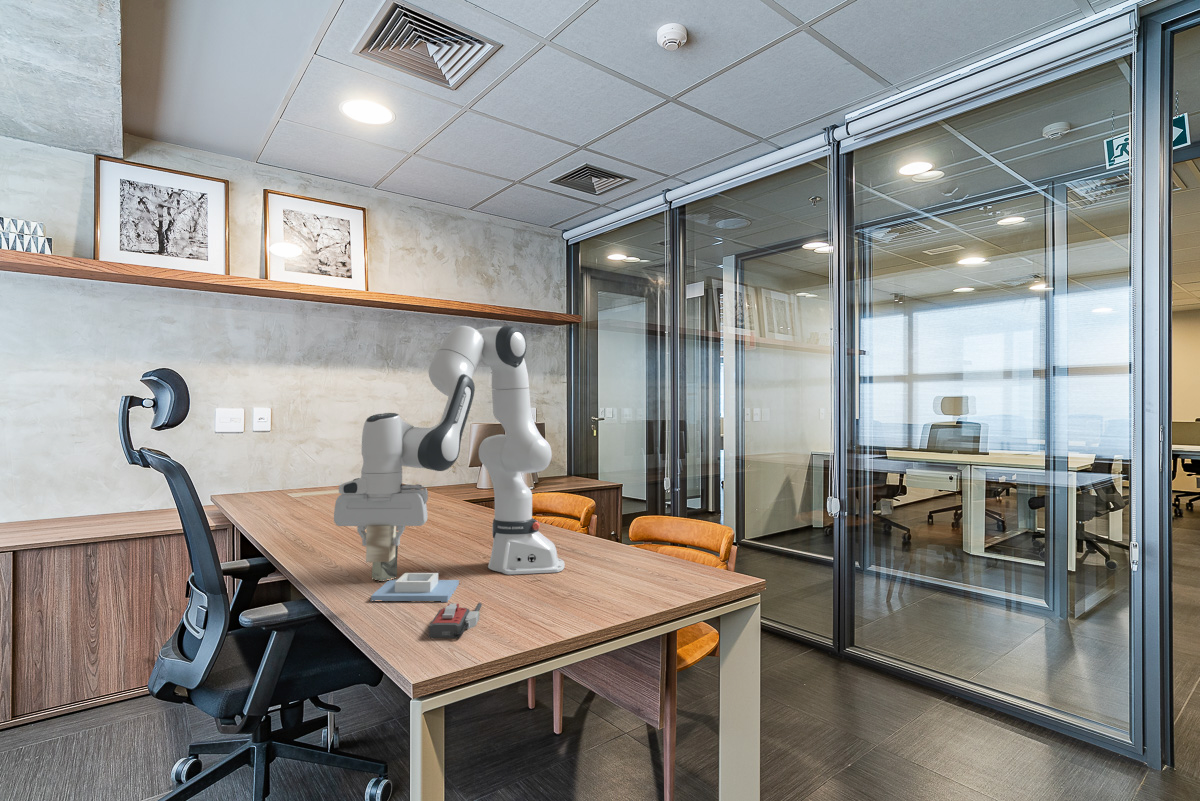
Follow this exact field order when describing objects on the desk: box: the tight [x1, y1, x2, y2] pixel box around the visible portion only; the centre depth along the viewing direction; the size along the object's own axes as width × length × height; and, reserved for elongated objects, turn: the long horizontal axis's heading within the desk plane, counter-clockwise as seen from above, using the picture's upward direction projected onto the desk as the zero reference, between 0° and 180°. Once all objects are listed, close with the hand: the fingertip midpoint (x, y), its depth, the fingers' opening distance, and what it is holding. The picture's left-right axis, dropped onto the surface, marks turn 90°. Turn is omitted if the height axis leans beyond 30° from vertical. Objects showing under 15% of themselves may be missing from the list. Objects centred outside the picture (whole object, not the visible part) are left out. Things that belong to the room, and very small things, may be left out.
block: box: [365, 525, 397, 563], centre depth 137 cm, size 5×5×8 cm
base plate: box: [370, 572, 460, 603], centre depth 151 cm, size 18×14×4 cm
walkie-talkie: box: [428, 602, 483, 639], centre depth 129 cm, size 9×4×20 cm
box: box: [371, 531, 399, 581], centre depth 163 cm, size 5×4×13 cm
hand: (381, 545), depth 137 cm, fingers closed on block, 5 cm apart
